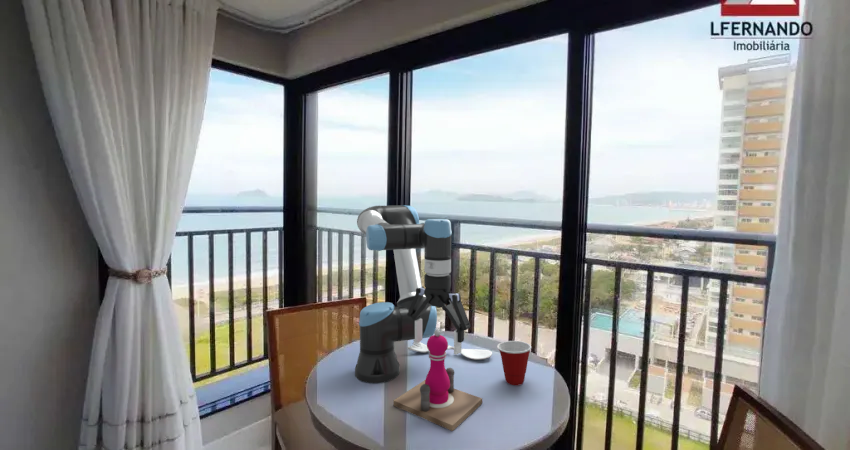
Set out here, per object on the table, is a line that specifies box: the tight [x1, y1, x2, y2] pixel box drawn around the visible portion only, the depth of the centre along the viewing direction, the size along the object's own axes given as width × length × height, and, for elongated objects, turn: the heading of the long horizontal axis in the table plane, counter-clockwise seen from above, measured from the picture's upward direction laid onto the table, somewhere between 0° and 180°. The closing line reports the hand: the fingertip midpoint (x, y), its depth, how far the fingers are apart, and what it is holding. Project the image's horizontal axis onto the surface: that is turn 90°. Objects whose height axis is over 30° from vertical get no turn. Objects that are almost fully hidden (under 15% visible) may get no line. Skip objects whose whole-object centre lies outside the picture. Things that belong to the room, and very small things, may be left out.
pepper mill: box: [424, 329, 450, 404], centre depth 103 cm, size 7×7×20 cm
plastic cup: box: [496, 340, 532, 386], centre depth 117 cm, size 11×11×12 cm
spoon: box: [406, 339, 493, 361], centre depth 139 cm, size 9×32×4 cm, turn 74°
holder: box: [392, 367, 483, 432], centre depth 104 cm, size 20×16×8 cm
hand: (437, 346), depth 104 cm, fingers open, 13 cm apart
